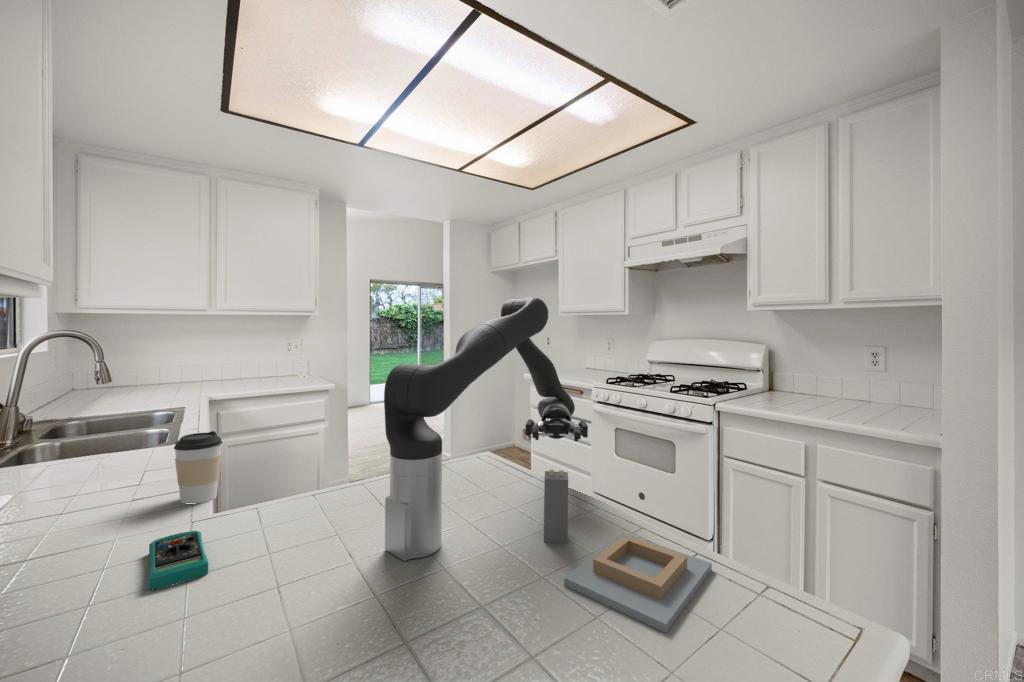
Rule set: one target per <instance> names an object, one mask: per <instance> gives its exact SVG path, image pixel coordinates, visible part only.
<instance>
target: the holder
mask: <svg viewBox="0 0 1024 682" xmlns="http://www.w3.org/2000/svg"><path fill="white" fill-rule="evenodd" d="M712 570H713V569H712V562H710V561H707V560H704V559H700V558H697V557H695V556H691V555H689V554H686V553H684V552H680V551H678V550H674V549H671V548H668V547H665V546H663V545H659V544H656V543H654V542H651V541H648V540H645V539H642V538H639V537H636V536H633V535H630V534H627V533H624V532H622V533H620V534H619V535H618V536H616V538H614V539H613V540H611V541H610V542H609V543H608V544H606V545H605V546H604V547H602V548H600V549H599V551H597V552H596V553H595V554H593V555H592V556H591V557H589V558H588V559H586V560H585V561H584V562H583V563H581V564H580V565H579V566H577V567H576V568H575V569H573V570H572V571H571V572H570V573H568V574H567V575H566V576H565V577H564V578H563V580H564V581H563V584H564V585H563V586H565V587H567V588H569V589H571V590H574V591H575V592H577V593H578V594H579V593H580V594H582V595H584V596H586V597H588V598H590V599H592V600H594V601H597V602H599V603H601V604H603V605H605V606H607V607H609V608H612V609H614V610H616V611H618V612H620V613H622V614H624V615H626V616H629V617H630V618H632V619H635V620H637V621H638V622H642V623H644V624H645V625H648V626H649V627H652V628H654V629H656V630H659V631H660V632H662V633H665V634H667V633H668V631H669V629H671V627H672V626H673V624H674V623H675V621H676V620H677V618H679V616H680V615H681V614H682V612H683V610H684V609H685V607H686V606H687V605H688V604H689V602H690V601H691V599H692V598H693V597H694V595H695V594H696V592H697V591H698V589H699V588H700V587H701V585H702V584H703V583H704V581H705V579H706V578H707V577H708V576H709V574H711V572H712Z"/></svg>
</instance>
